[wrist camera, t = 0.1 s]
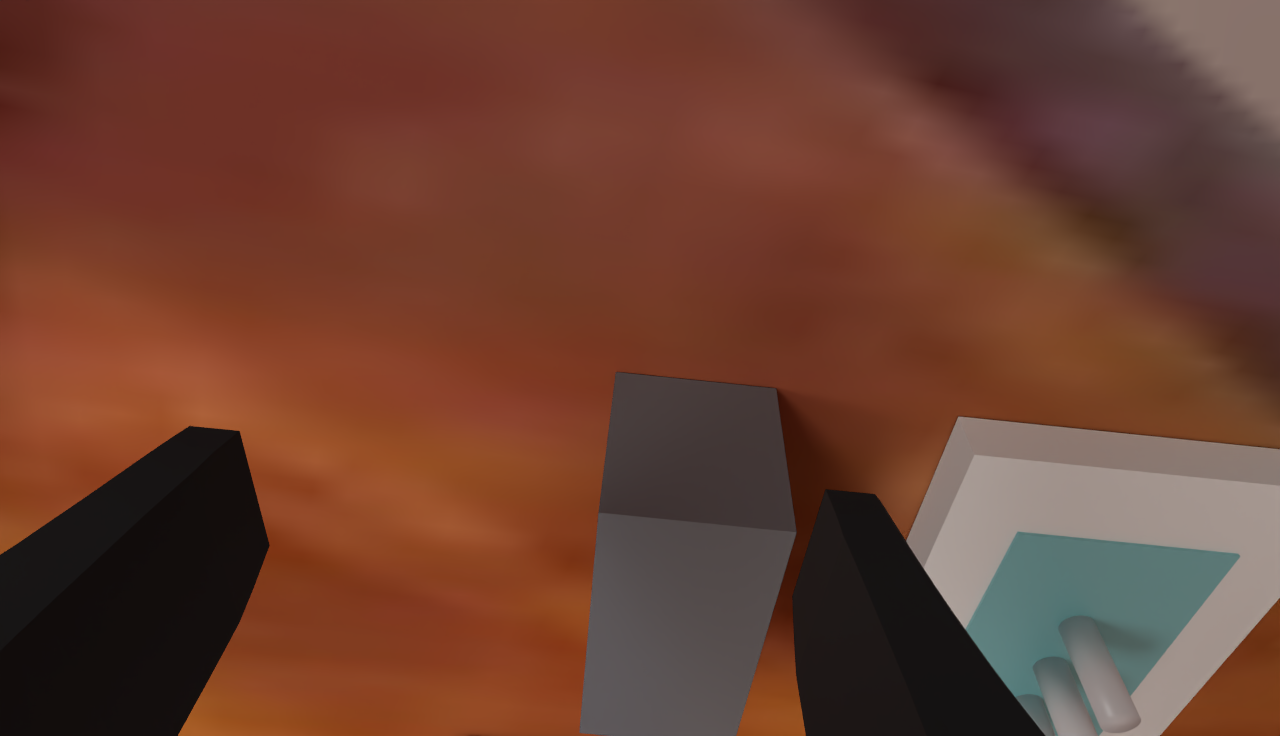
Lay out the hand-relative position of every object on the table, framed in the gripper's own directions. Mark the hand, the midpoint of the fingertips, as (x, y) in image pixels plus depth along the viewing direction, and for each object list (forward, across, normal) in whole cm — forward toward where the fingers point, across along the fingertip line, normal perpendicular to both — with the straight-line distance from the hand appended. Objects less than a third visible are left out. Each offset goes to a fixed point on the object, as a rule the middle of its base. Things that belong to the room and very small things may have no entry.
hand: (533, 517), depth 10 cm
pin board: (+10, -15, +13) cm, 22 cm away
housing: (+10, -3, +9) cm, 14 cm away
